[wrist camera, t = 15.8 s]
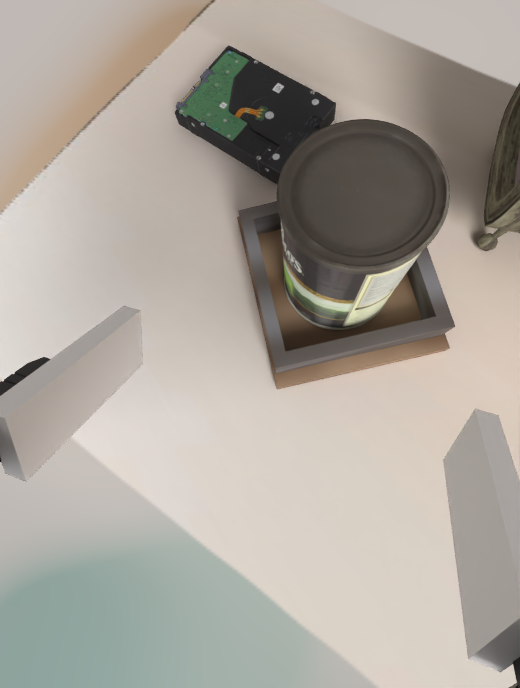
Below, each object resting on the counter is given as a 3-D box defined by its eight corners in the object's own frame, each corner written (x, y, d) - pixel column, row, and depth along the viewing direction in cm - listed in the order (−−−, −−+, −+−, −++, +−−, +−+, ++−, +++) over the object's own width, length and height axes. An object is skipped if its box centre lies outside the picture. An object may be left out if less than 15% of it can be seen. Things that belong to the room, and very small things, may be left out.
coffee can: (286, 334, 36) (280, 275, 22) (281, 235, 38) (273, 126, 25) (398, 328, 35) (463, 262, 22) (386, 227, 38) (437, 109, 24)
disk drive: (335, 121, 43) (231, 64, 46) (338, 101, 40) (227, 41, 43) (281, 190, 42) (177, 127, 44) (280, 173, 39) (170, 107, 42)
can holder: (444, 350, 36) (464, 340, 32) (277, 389, 36) (275, 384, 32) (388, 186, 40) (398, 158, 36) (238, 223, 40) (232, 199, 36)
